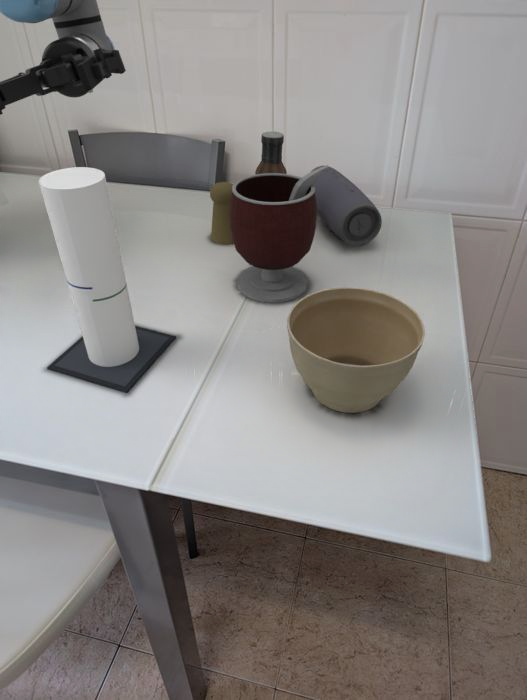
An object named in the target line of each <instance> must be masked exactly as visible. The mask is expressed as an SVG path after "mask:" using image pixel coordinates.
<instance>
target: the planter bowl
mask: <svg viewBox="0 0 527 700" xmlns="http://www.w3.org/2000/svg"><path fill="white" fill-rule="evenodd" d="M286 329H287V333H288V337H289V338H288V339H289V348H290V353H291V357H292V360H293V364H294V366H295V367H296V370H297V371H298V373H299V376H300V377H301V378H302V380H303V381H304V383H305V384H306V385H307V387H308V388H309V389H310V390H311V392H312V395H313V396H314V398H315V399H316V400H317V401H318V402H319V403H320V404H321V405H323V406H324V407H327V408H328V409H331V410H332V411H336V412H340V413H346V414H355V413H356V414H357V413H362V412H366V411H369V410H371V409H373V408H374V407H376V406H377V405H378V404H379V403H380V402H381V401H382V399H384V398H385V397H387V396H389V395H390V394H391V393H392V392H393V391H395V390H396V389H397V388H398V387H399V386H400V385H401V384H402V382H403V381H404V380H405V379H406V378H407V376H408V375H409V373H410V371H411V370H412V368H413V367H414V364H415V362H416V359H417V357H418V354H419V352H420V350H421V348H422V346H423V343H424V340H425V335H426V329H425V325H424V322H423V320H422V318H421V316H420V315H419V313H418V312H417V311H416V310H414V308H413V307H412V306H410V305H409V304H407V303H406V302H405V301H403V300H401V299H400V298H397V297H395V296H394V295H391V294H388V293H385V292H382V291H379V290H374V289H370V288H363V287H352V286H351V287H350V286H349V287H348V286H347V287H346V286H343V287H342V286H341V287H329V288H325V289H321V290H317V291H314V292H311V293H309V294H307V295H306V296H303V297H302V298H300V299H299V300H298V301H297V302H296V303H294V305H293V306H292V307H291V308H290V311H289V313H288V315H287V319H286Z"/></svg>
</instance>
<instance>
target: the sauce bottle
mask: <svg viewBox="0 0 527 700" xmlns="http://www.w3.org/2000/svg"><path fill="white" fill-rule="evenodd" d="M284 137H285V136H284V134H283V133H282V132H281V131H275V130H273V131H265V132H262V133H261V137H260V138H261V139H260V141H261V155H260V156H261V161H260V162H259V164H257V165H258V166H257V167H256V169H255V172H254V175H257V174H265V173H280V174H288V172H287V169H286V167H285V164H284V163H283V145H284V142H285V141H284V140H285V138H284Z"/></svg>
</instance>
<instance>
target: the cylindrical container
mask: <svg viewBox="0 0 527 700" xmlns="http://www.w3.org/2000/svg"><path fill="white" fill-rule="evenodd" d="M38 184H39V187H40V192H41V194H42V199H43V202H44V205H45V209H46V212H47V215H48V219H49V222H50V227H51V229H52V234H53V237H54V240H55V244H56V247H57V251H58V255H59V258H60V261H61V265H62V268H63V272H64V275H65V279H66V283H67V286H68V290H69V294H70V297H71V300H72V303H73V307H74V310H75V314H76V318H77V320H78V324H79V328H80V332H81V335H82V336H83V339H84V342H85V346H86V350H87V353H88V357H89V359H90V361H91V362H93V363H94V364H96V365H99V366H104V367H112V366H118V365H122V364H124V363H127V362H128V361H130V360H132V359H133V358H134V357H135V356H136V355H137V353H138V351H139V344H138V338H137V333H136V328H135V326H136V324H135V318H134V315H133V308H132V304H131V299H130V294H129V289H128V285H127V279H126V273H125V269H124V264H123V259H122V254H121V249H120V243H119V238H118V233H117V228H116V223H115V219H114V214H113V208H112V203H111V199H110V193H109V189H108V188H109V187H108V184H107V178H106V174H105V172H104V171H103V170H101V169H98V168H95V167H88V166H87V167H86V166H74V167H65V168H61V169H57V170H53V171H50V172H48V173H45V174H43V175H42V176H41V177H39V179H38Z"/></svg>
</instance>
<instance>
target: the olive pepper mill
mask: <svg viewBox="0 0 527 700" xmlns="http://www.w3.org/2000/svg"><path fill="white" fill-rule="evenodd" d="M233 184H234V183H231V182H228V181H220V182H215V183H214V184H212V186H211V187H210V190H209V196H210V199H211V201H212V216H211V217H212V218H211V229H210V231H211V233H210V240H211V241H212V242H213V243H215V244H218V245H219V244H220V245H231V244H234V243H233V239H232V234H231V229H230V201H231V194H232V186H233Z"/></svg>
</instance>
